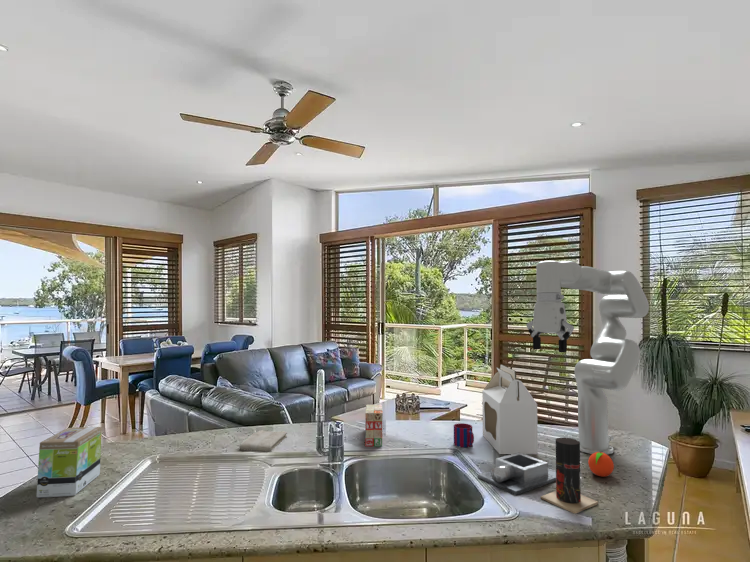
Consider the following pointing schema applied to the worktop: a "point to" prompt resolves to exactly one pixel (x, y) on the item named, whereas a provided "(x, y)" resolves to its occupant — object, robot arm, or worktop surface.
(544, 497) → the coaster
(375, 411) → the stack of blocks
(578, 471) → the deodorant
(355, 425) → the worktop surface
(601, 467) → the clementine
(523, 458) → the grey square holder
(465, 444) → the mug
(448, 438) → the worktop surface
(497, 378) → the gable box
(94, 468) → the tea box
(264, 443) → the washcloth
